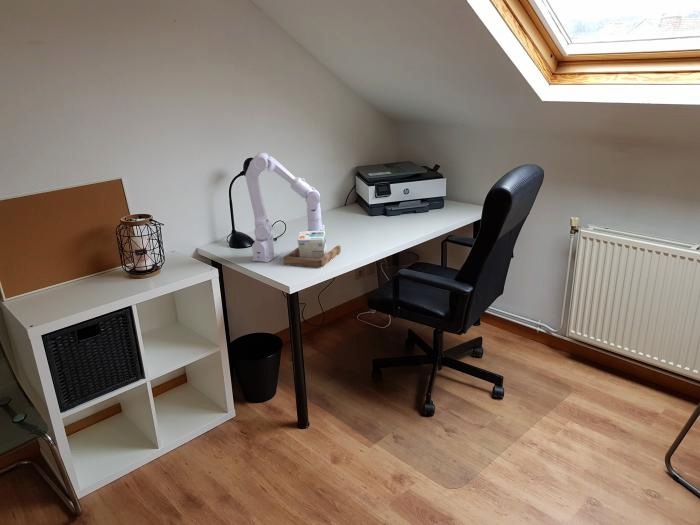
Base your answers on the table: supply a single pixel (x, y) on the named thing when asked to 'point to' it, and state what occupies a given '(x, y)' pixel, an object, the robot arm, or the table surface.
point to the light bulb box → (312, 244)
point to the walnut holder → (296, 260)
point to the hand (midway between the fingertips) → (316, 249)
